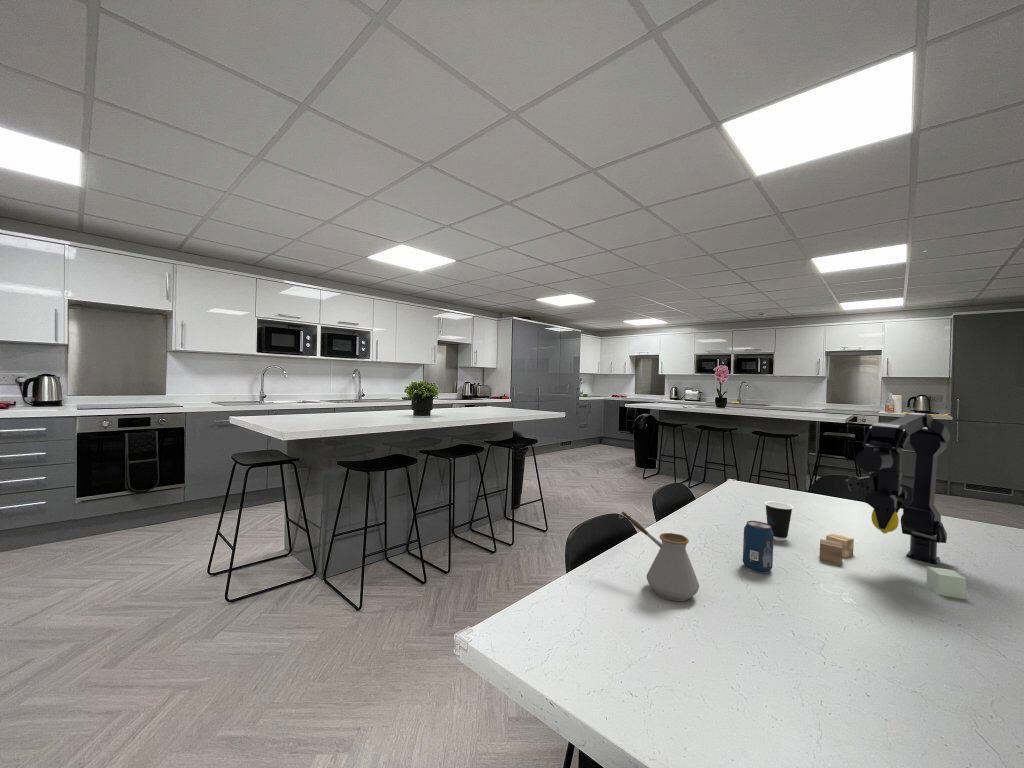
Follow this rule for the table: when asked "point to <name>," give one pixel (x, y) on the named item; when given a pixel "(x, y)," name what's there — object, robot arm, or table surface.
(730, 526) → the table surface
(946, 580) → the sage block
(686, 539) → the coffee pot
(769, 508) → the dixie cup
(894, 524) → the lemon
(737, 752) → the table surface
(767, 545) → the soda can
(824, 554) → the walnut block
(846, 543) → the oak block
